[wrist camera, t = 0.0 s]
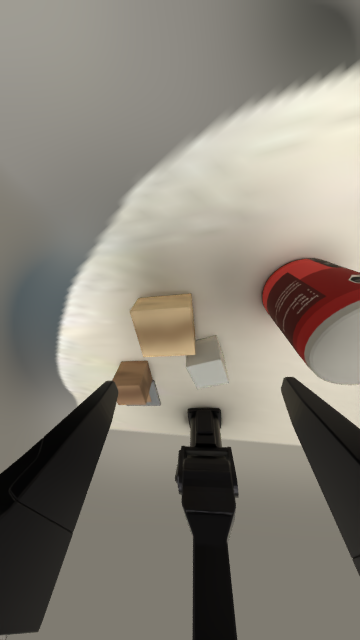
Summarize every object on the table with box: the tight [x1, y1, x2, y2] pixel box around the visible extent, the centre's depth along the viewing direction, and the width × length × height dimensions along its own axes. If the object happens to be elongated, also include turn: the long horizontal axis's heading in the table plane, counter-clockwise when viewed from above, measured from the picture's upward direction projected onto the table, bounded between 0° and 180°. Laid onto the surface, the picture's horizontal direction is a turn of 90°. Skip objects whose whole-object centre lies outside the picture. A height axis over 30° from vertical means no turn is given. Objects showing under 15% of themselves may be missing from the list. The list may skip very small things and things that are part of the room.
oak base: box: [130, 294, 195, 357], centre depth 23 cm, size 7×7×4 cm
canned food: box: [263, 259, 360, 385], centre depth 16 cm, size 8×8×11 cm
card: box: [127, 380, 161, 406], centre depth 33 cm, size 7×7×1 cm
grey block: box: [186, 335, 229, 389], centre depth 25 cm, size 4×4×5 cm
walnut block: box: [112, 361, 152, 405], centre depth 28 cm, size 4×4×5 cm
